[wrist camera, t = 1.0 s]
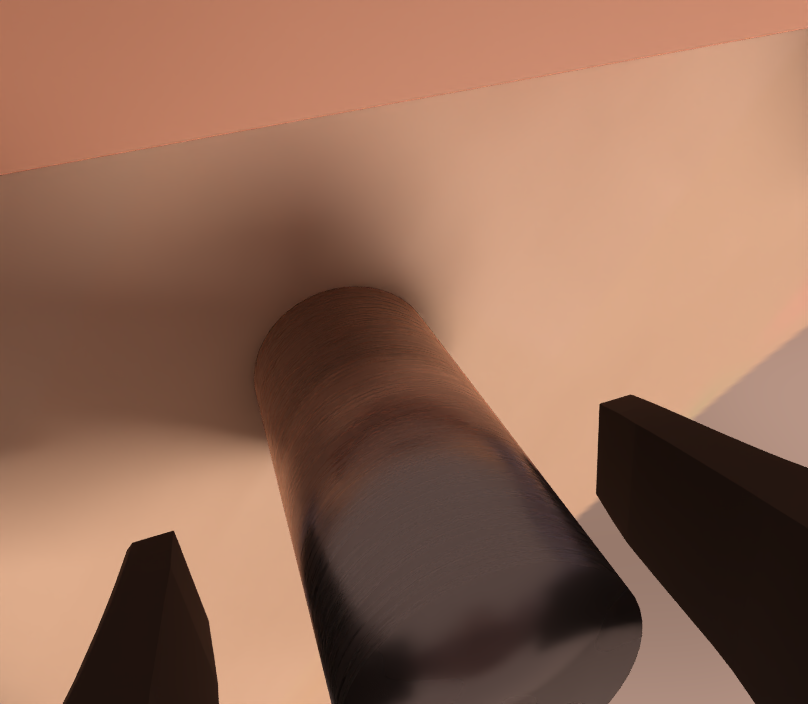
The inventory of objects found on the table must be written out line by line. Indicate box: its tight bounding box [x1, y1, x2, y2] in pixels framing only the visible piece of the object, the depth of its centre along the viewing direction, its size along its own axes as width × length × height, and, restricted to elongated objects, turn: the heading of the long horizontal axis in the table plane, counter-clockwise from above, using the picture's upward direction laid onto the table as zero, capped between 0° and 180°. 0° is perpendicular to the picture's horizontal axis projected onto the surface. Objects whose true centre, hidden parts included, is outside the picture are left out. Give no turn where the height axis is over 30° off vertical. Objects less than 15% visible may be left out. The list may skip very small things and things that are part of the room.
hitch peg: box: [254, 287, 642, 704], centre depth 12 cm, size 4×4×8 cm
